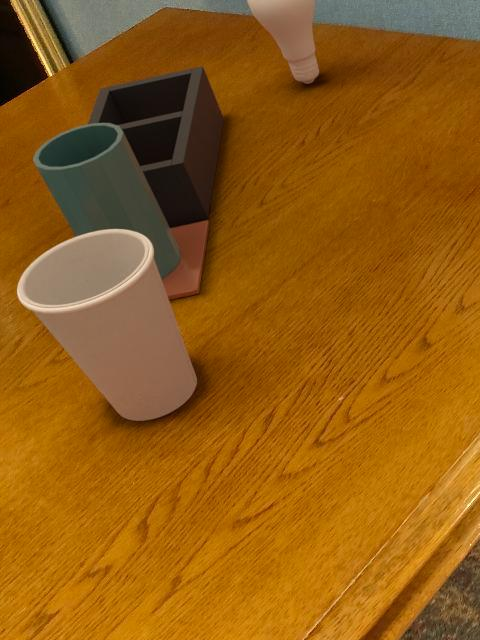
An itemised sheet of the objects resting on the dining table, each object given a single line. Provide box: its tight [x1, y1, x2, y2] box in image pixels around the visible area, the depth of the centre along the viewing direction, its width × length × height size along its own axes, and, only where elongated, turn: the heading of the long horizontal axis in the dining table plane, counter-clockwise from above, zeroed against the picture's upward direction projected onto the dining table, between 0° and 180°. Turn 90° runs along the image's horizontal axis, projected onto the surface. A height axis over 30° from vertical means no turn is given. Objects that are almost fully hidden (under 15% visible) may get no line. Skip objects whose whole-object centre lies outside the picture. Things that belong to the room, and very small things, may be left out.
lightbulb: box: [246, 0, 320, 85], centre depth 93 cm, size 6×6×11 cm
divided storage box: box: [87, 65, 225, 228], centre depth 87 cm, size 10×18×5 cm, turn 8°
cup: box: [32, 123, 181, 279], centre depth 74 cm, size 6×6×10 cm
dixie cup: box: [16, 229, 198, 422], centre depth 64 cm, size 8×8×10 cm
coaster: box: [161, 219, 211, 301], centre depth 78 cm, size 10×10×1 cm
